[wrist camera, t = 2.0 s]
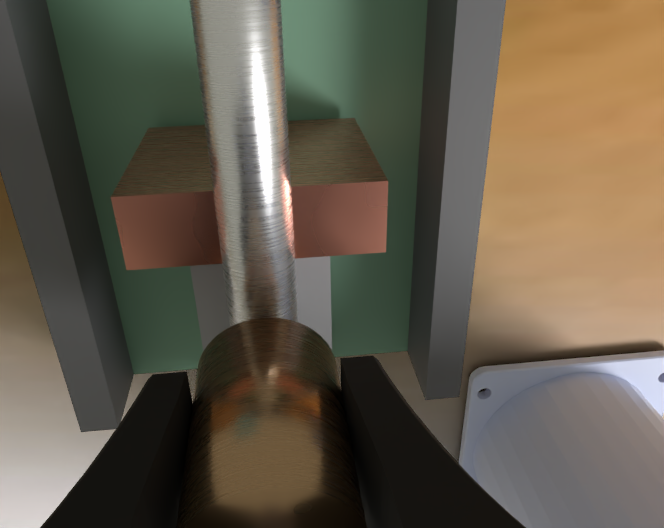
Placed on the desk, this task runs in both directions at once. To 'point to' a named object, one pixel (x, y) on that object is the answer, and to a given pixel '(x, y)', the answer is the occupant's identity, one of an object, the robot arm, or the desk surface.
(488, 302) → the desk surface
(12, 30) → the pitch
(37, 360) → the desk surface
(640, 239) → the desk surface
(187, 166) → the kicker
